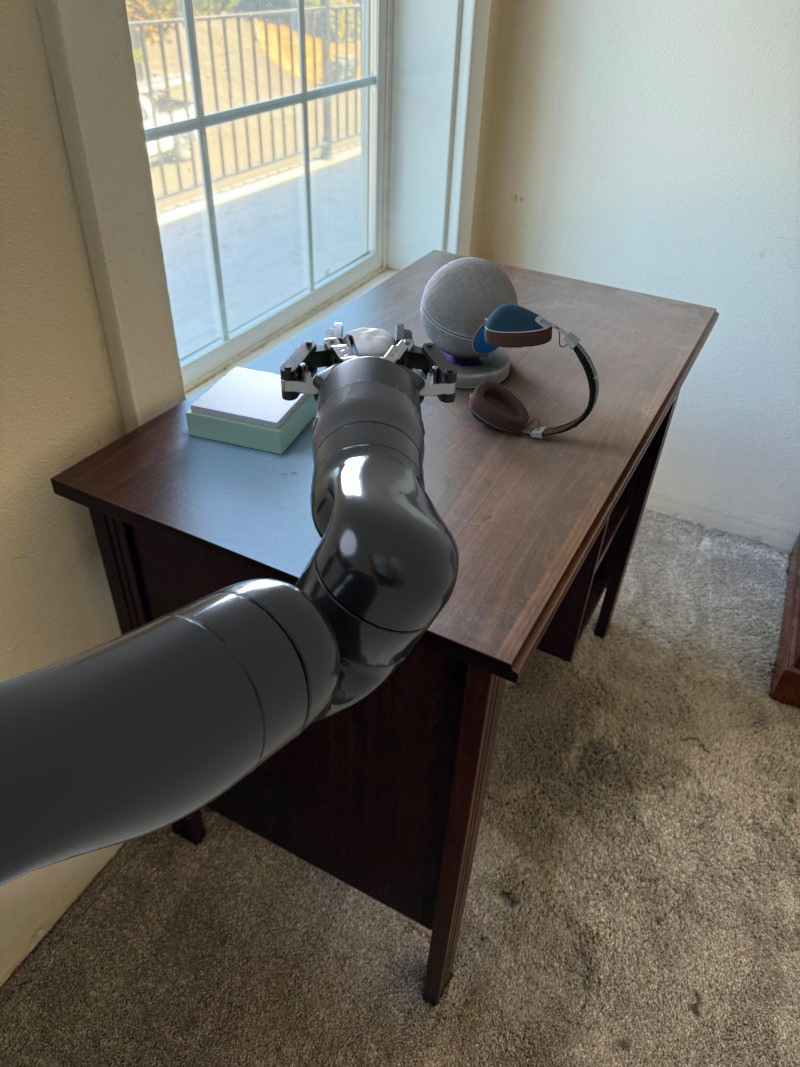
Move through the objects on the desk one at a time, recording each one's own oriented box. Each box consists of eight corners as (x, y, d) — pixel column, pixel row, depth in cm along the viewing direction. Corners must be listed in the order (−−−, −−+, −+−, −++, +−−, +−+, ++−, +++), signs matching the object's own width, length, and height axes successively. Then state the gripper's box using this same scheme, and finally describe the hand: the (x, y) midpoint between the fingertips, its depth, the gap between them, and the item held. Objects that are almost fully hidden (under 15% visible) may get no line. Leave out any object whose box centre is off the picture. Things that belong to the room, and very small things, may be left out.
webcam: (473, 341, 112) (483, 239, 103) (528, 375, 104) (545, 267, 94) (400, 359, 106) (404, 252, 97) (452, 397, 98) (462, 284, 89)
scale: (185, 434, 88) (181, 405, 86) (234, 390, 97) (231, 363, 95) (281, 454, 85) (279, 425, 83) (322, 407, 94) (321, 380, 92)
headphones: (405, 404, 94) (569, 468, 87) (422, 288, 84) (609, 350, 78) (427, 385, 98) (585, 444, 92) (446, 272, 88) (624, 330, 82)
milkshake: (330, 436, 66) (325, 329, 60) (361, 411, 70) (358, 308, 64) (375, 449, 65) (374, 340, 59) (403, 423, 69) (405, 318, 62)
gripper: (268, 477, 53) (289, 371, 67) (467, 479, 54) (448, 374, 67) (259, 381, 49) (284, 289, 62) (477, 385, 49) (454, 292, 63)
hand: (369, 334), depth 65 cm, fingers closed on milkshake, 4 cm apart
